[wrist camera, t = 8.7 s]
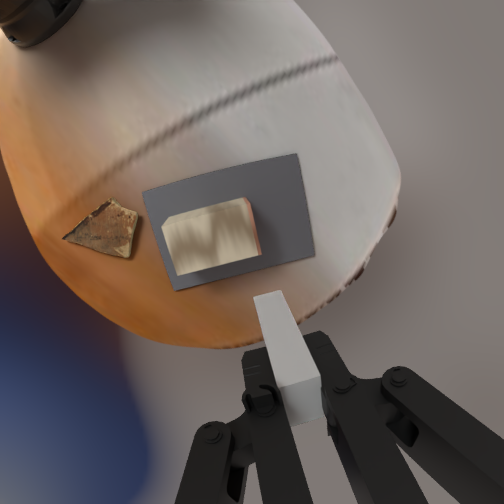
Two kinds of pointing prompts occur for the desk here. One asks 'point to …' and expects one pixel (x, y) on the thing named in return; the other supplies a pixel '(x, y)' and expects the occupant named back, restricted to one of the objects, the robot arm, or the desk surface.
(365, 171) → the desk surface
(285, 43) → the desk surface
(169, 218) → the birch block
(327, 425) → the robot arm
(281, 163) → the rubber mat
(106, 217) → the shard
